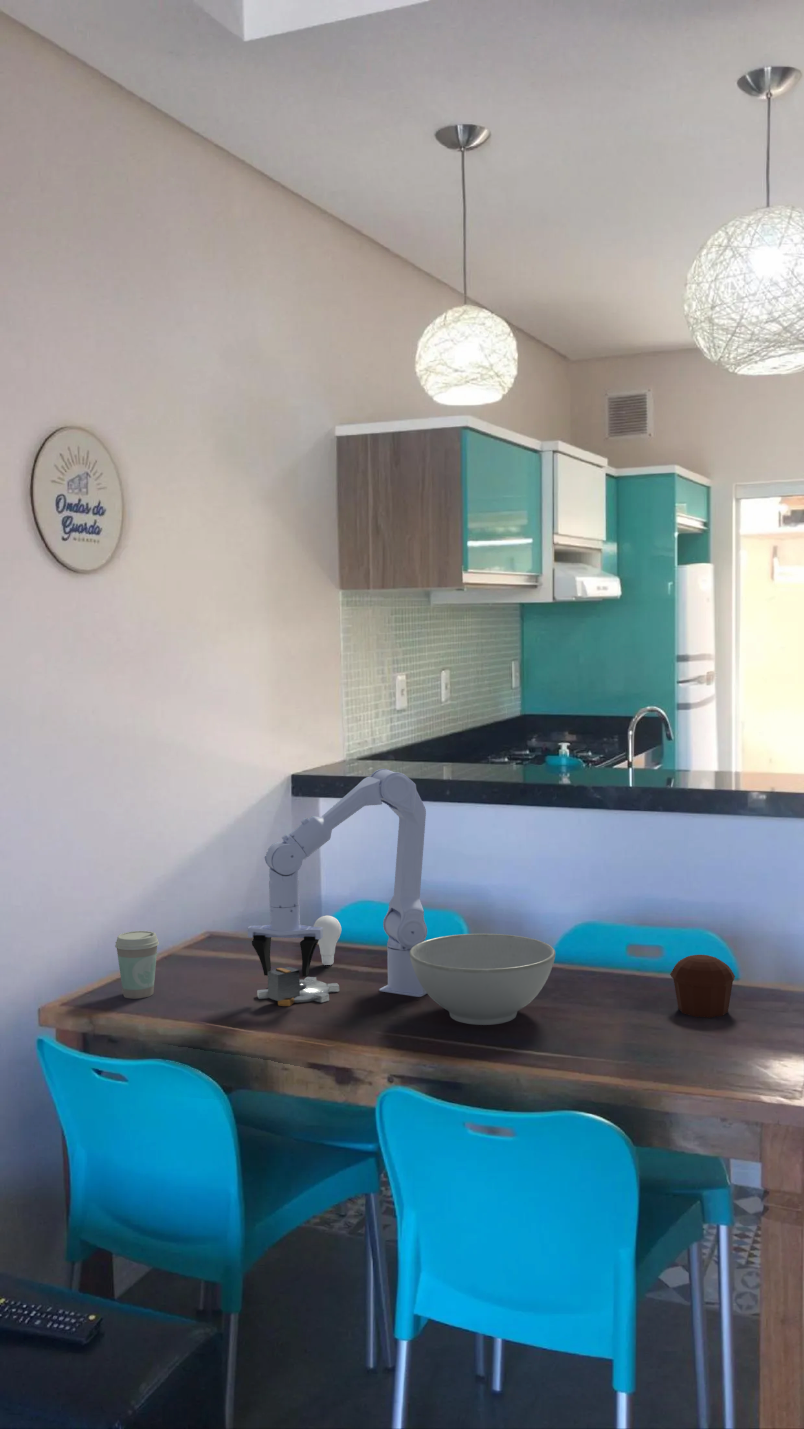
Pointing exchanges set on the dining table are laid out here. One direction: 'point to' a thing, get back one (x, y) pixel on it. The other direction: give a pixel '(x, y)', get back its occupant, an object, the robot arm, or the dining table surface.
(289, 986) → the banded cube
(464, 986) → the decorative bowl
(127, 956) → the coffee cup
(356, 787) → the robot arm
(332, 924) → the lightbulb
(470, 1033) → the dining table surface
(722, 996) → the muffin
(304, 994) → the sprocket
